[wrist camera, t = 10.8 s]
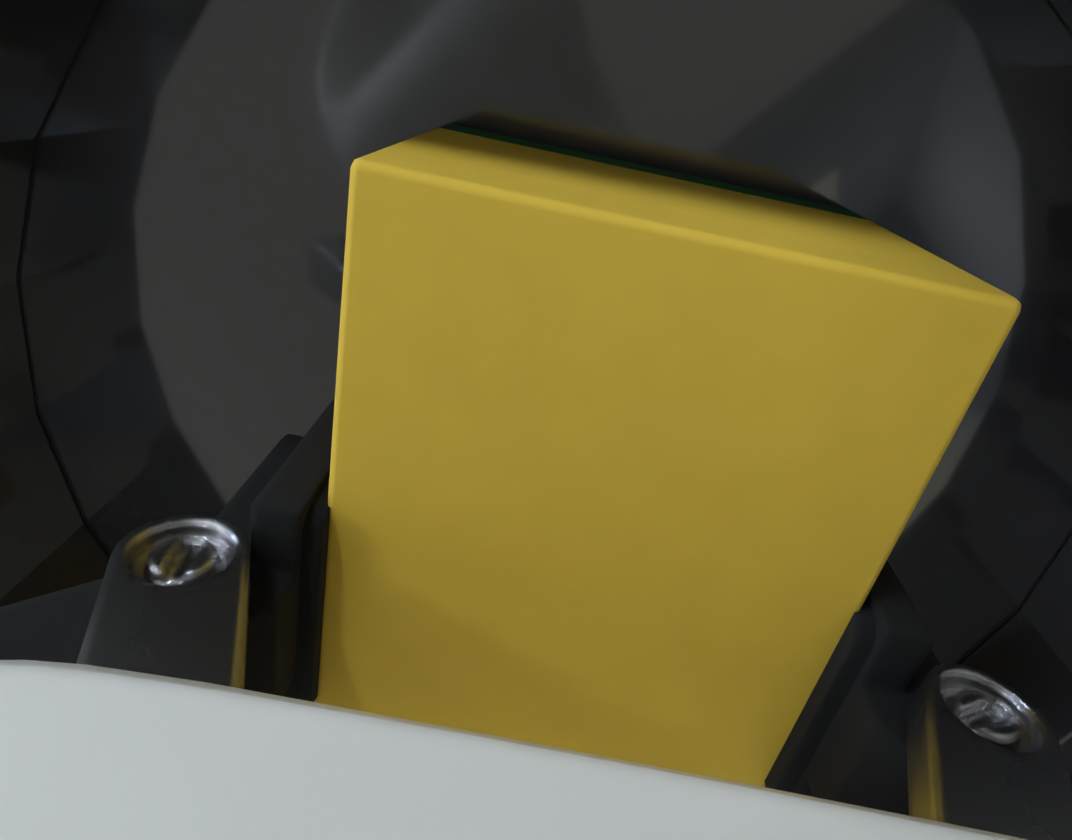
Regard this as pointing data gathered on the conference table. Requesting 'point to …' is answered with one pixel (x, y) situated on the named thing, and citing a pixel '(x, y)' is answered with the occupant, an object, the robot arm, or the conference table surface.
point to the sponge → (622, 445)
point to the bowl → (531, 114)
